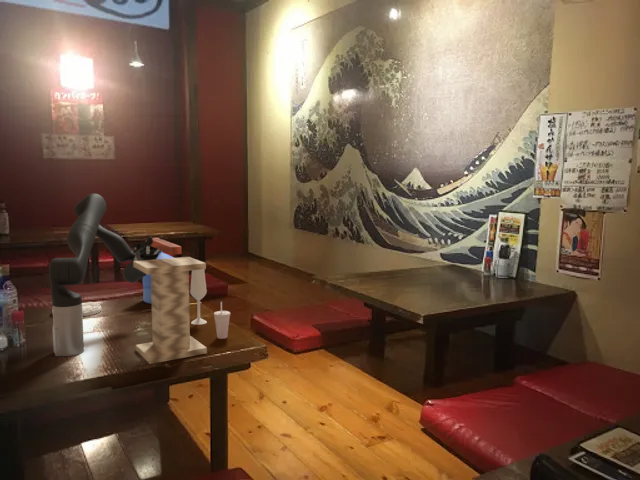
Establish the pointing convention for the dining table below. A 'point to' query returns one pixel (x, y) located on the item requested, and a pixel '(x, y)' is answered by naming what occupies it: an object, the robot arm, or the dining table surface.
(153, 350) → the beech pedestal
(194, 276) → the champagne flute
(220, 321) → the smoothie
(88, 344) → the dining table surface
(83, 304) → the embossed medallion
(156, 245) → the lacquered bar
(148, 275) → the water jug
